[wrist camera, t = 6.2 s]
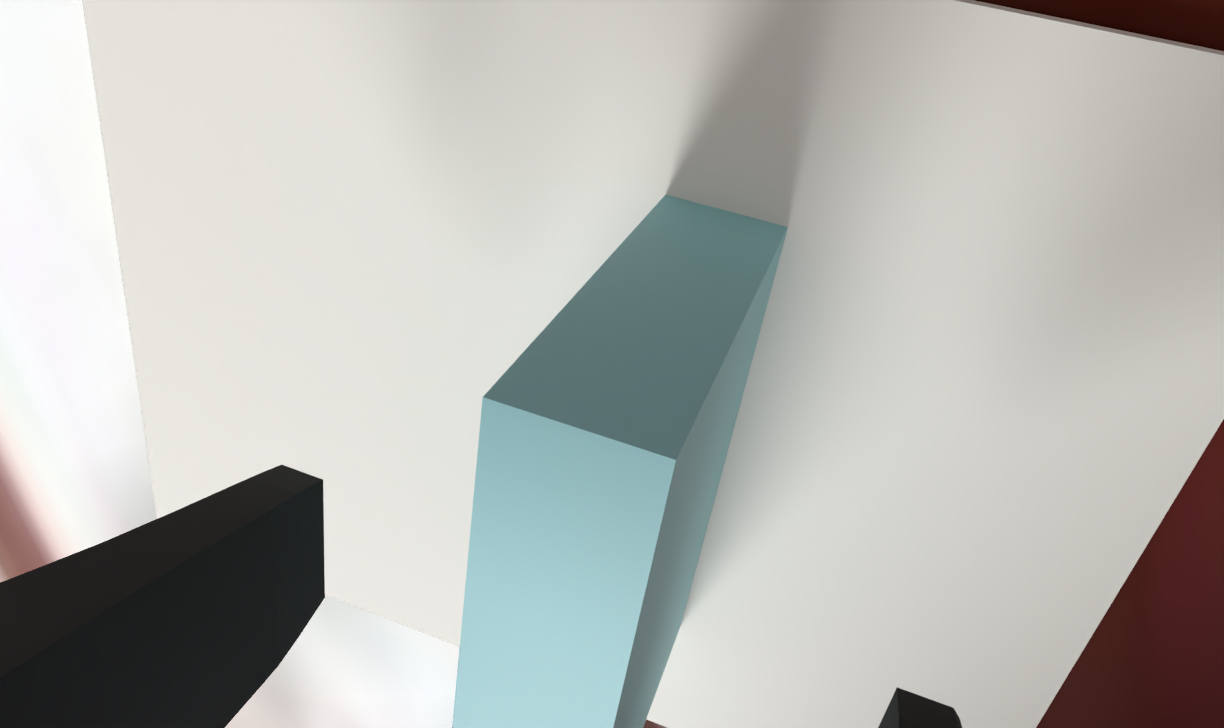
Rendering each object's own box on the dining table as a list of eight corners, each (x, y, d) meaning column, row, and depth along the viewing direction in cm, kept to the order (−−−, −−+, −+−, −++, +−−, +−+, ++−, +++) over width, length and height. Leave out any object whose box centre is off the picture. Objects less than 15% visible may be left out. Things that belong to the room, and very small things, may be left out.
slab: (680, 626, 17) (561, 947, 12) (589, 593, 17) (436, 891, 12) (788, 227, 13) (675, 459, 8) (665, 194, 13) (483, 397, 8)
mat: (966, 825, 17) (965, 842, 17) (171, 519, 21) (158, 530, 21) (1404, 88, 10) (1419, 95, 10) (77, -183, 14) (55, -184, 13)
